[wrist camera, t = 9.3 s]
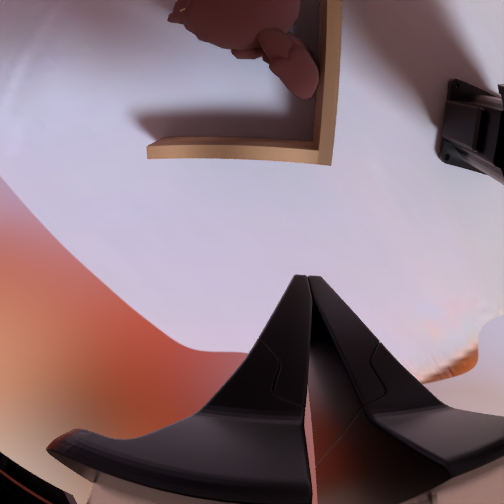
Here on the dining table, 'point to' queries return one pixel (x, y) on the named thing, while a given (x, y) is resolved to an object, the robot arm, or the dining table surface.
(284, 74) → the icecream
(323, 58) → the holder
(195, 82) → the dining table surface
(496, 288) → the dining table surface
